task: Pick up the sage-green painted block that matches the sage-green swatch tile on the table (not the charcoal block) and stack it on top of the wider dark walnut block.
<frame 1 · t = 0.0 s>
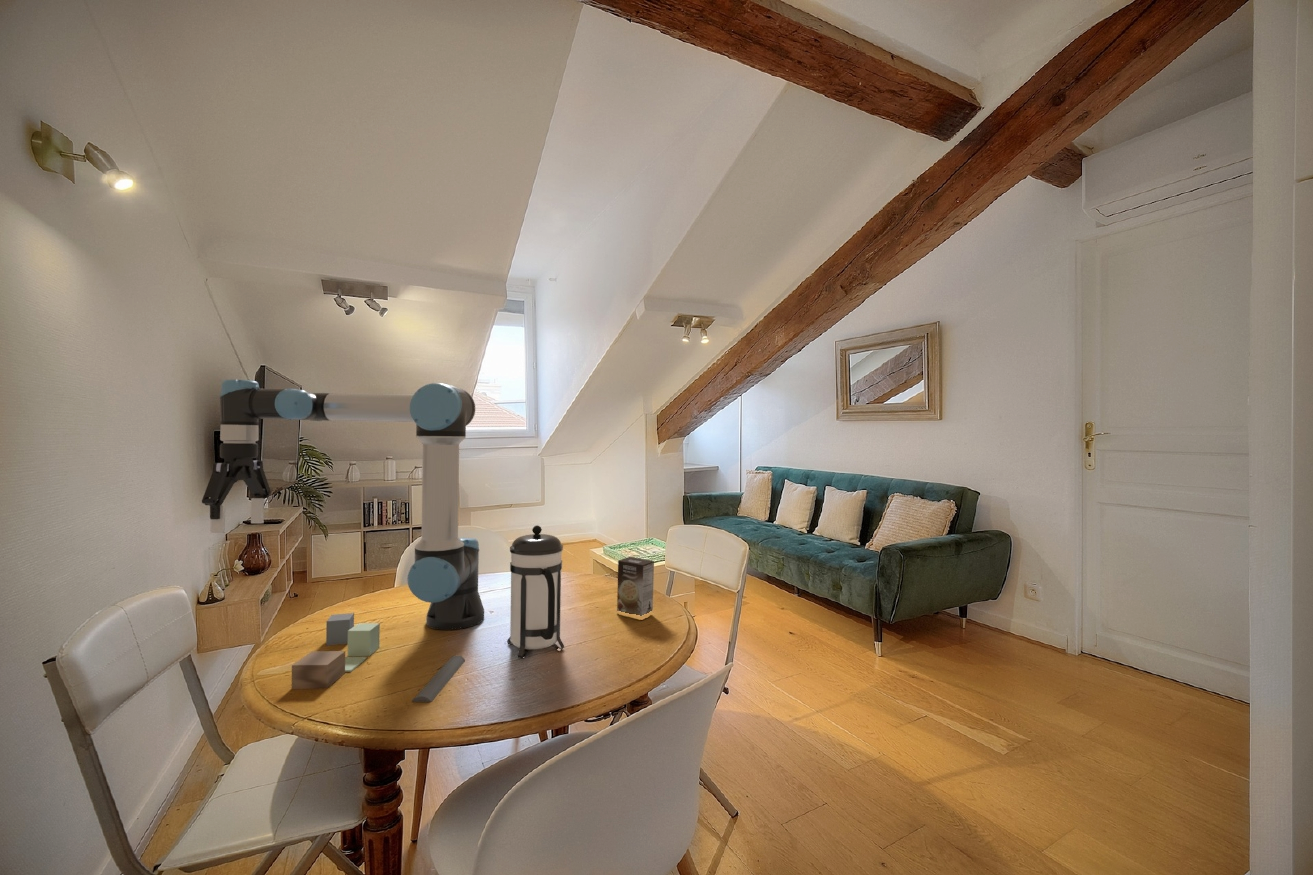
hand: (238, 527, 133), 28 cm above the table, tool pointing down, fingers open, 13 cm apart
walnut base: (319, 681, 113), on the table
coffee box: (634, 616, 157), on the table
charcoal block: (340, 641, 134), on the table
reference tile: (342, 665, 120), on the table
sage block: (363, 652, 128), on the table
dark grey piece: (440, 683, 114), on the table
coffee press: (538, 649, 131), on the table
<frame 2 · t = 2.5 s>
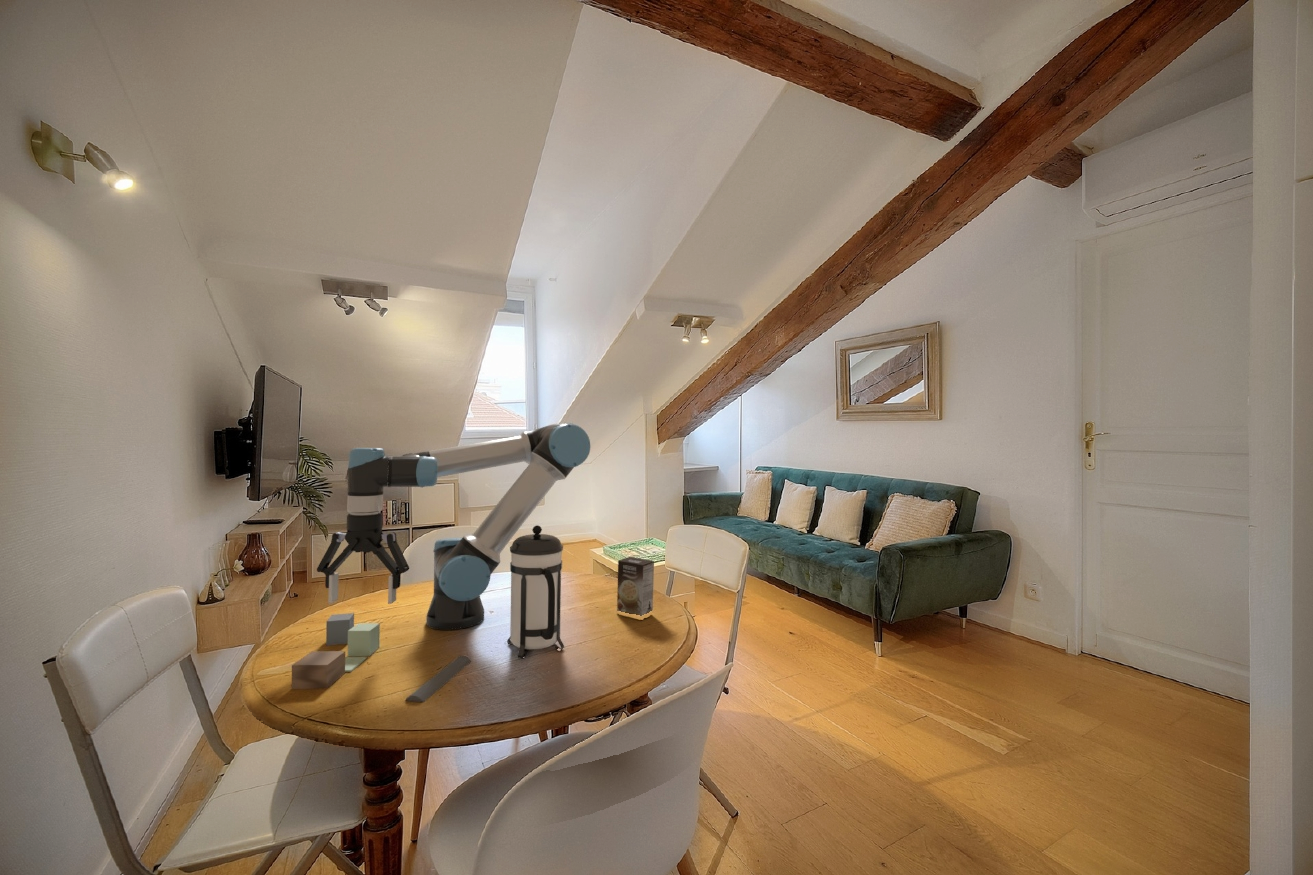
hand: (362, 602, 128), 12 cm above the table, tool pointing down, fingers open, 13 cm apart
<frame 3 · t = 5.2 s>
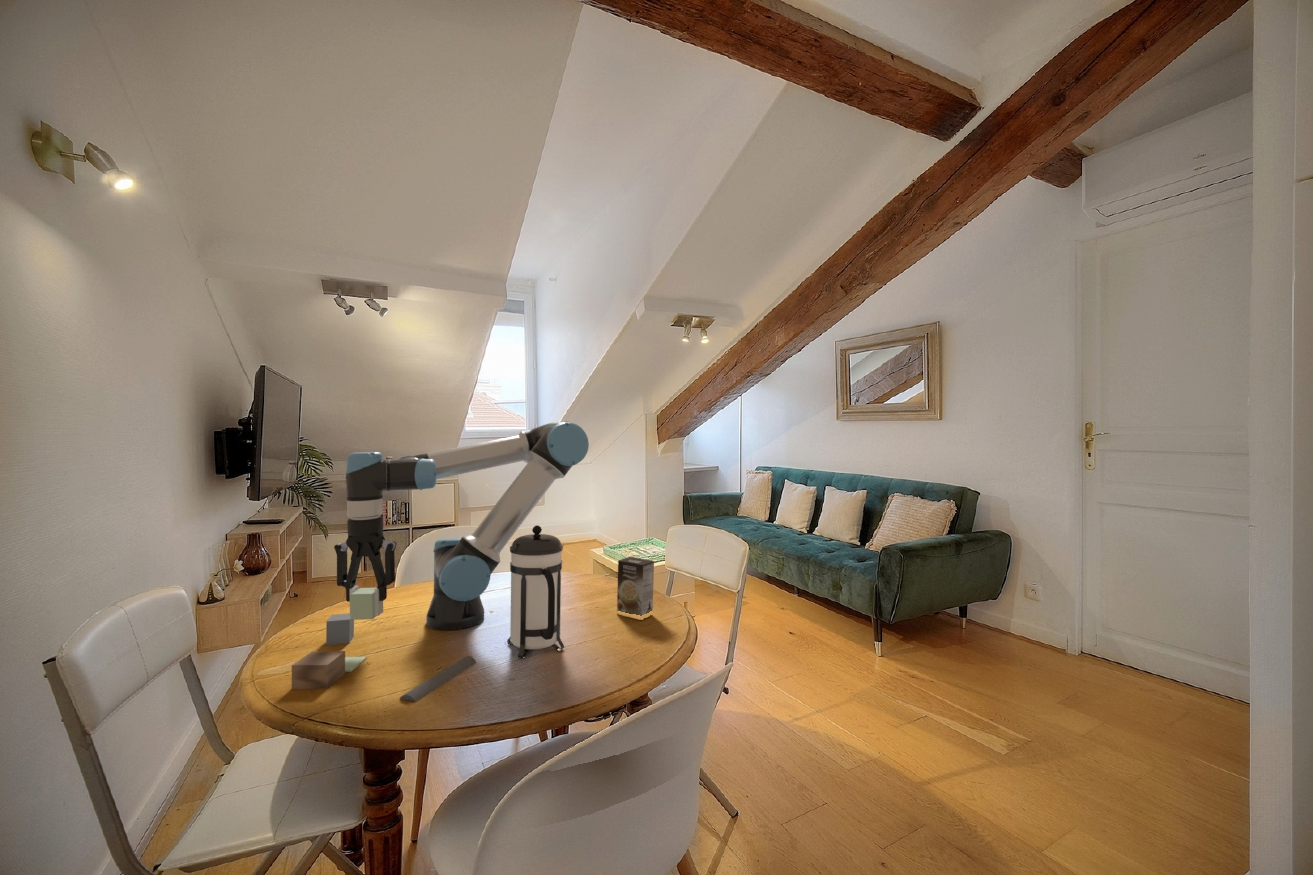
hand: (366, 614, 128), 9 cm above the table, tool pointing down, fingers closed on sage block, 5 cm apart
sage block: (366, 615, 128), point 9 cm above the table, touching gripper
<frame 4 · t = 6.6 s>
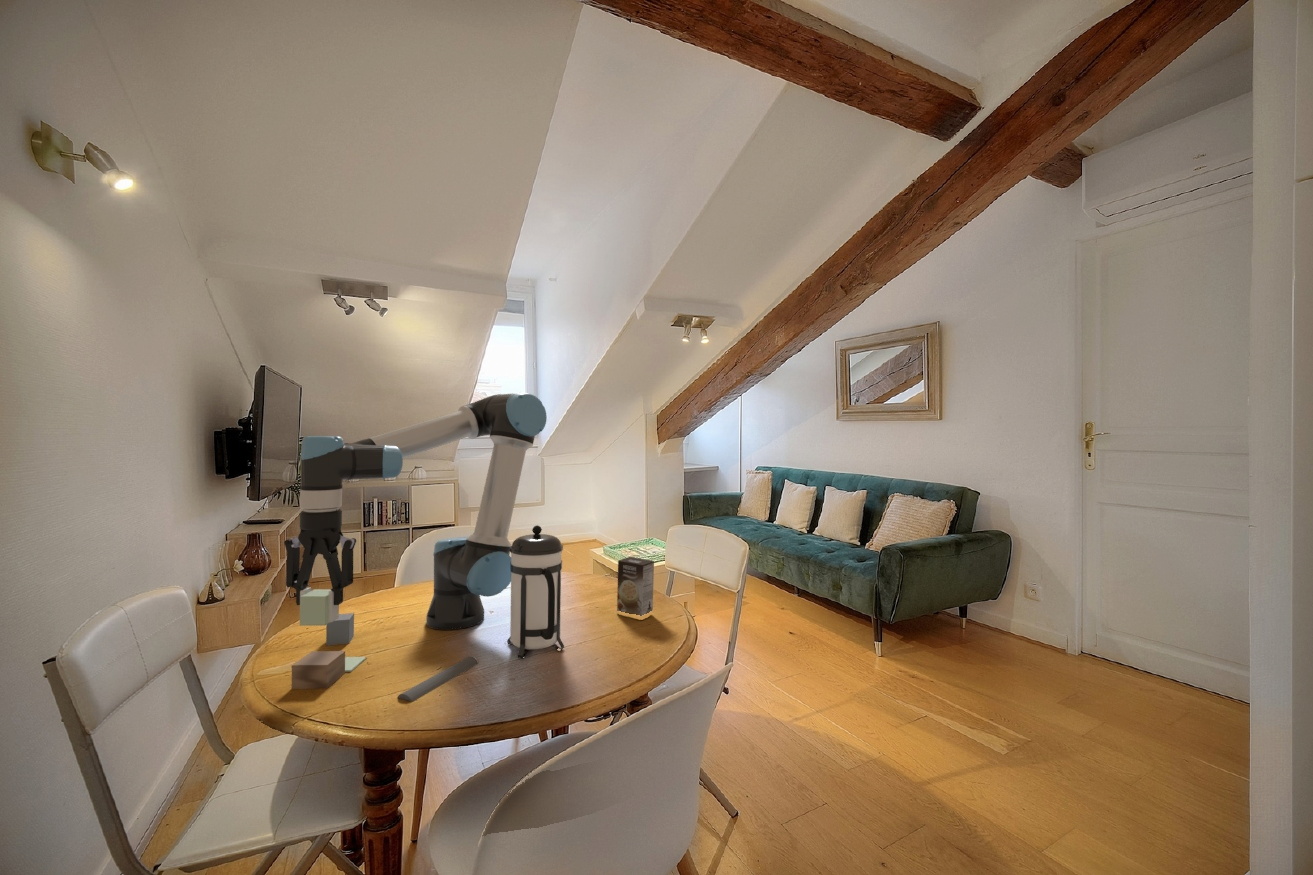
hand: (319, 619, 113), 13 cm above the table, tool pointing down, fingers closed on sage block, 5 cm apart
sage block: (319, 621, 113), point 12 cm above the table, touching gripper
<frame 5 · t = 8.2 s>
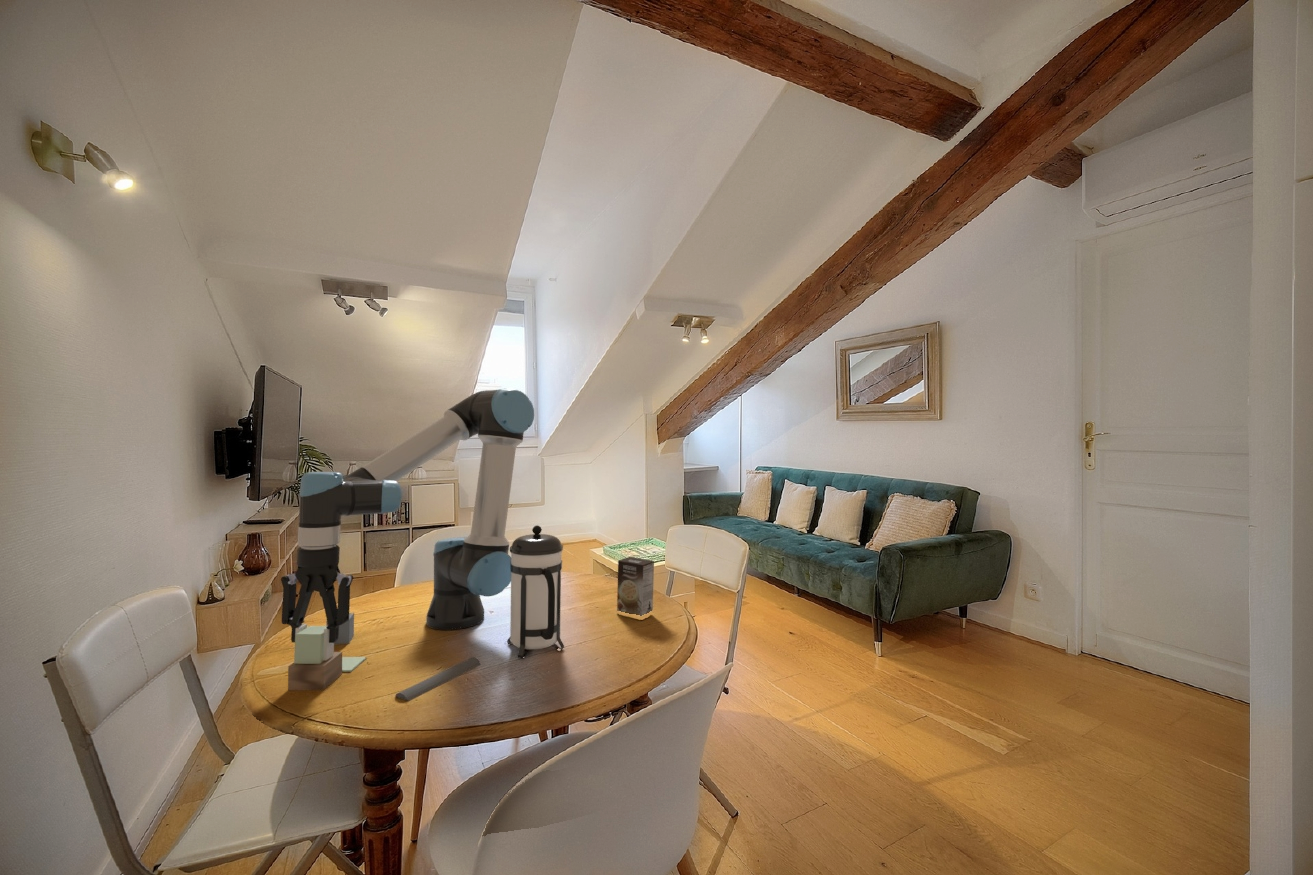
hand: (314, 657, 112), 5 cm above the table, tool pointing down, fingers closed on sage block, 5 cm apart
walnut base: (315, 682, 112), on the table, touching gripper, sage block
sage block: (313, 658, 112), point 5 cm above the table, touching gripper, walnut base
when the fingers open (5 cm above the table, at t = 8.4 s): sage block stays where it is, resting on walnut base.
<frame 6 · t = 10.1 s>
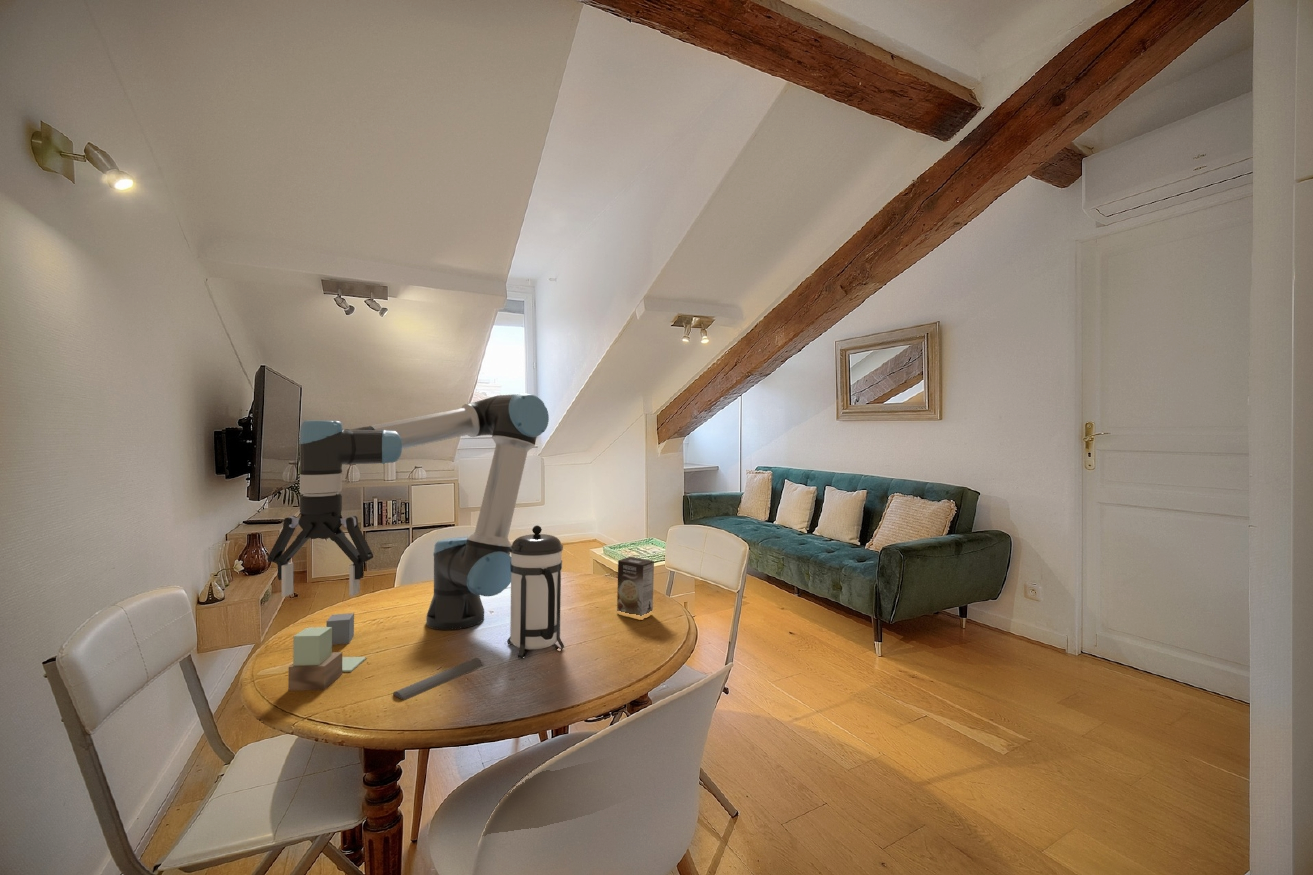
hand: (321, 595, 113), 18 cm above the table, tool pointing down, fingers open, 13 cm apart
walnut base: (316, 683, 112), on the table, touching sage block
sage block: (312, 660, 112), point 5 cm above the table, touching walnut base
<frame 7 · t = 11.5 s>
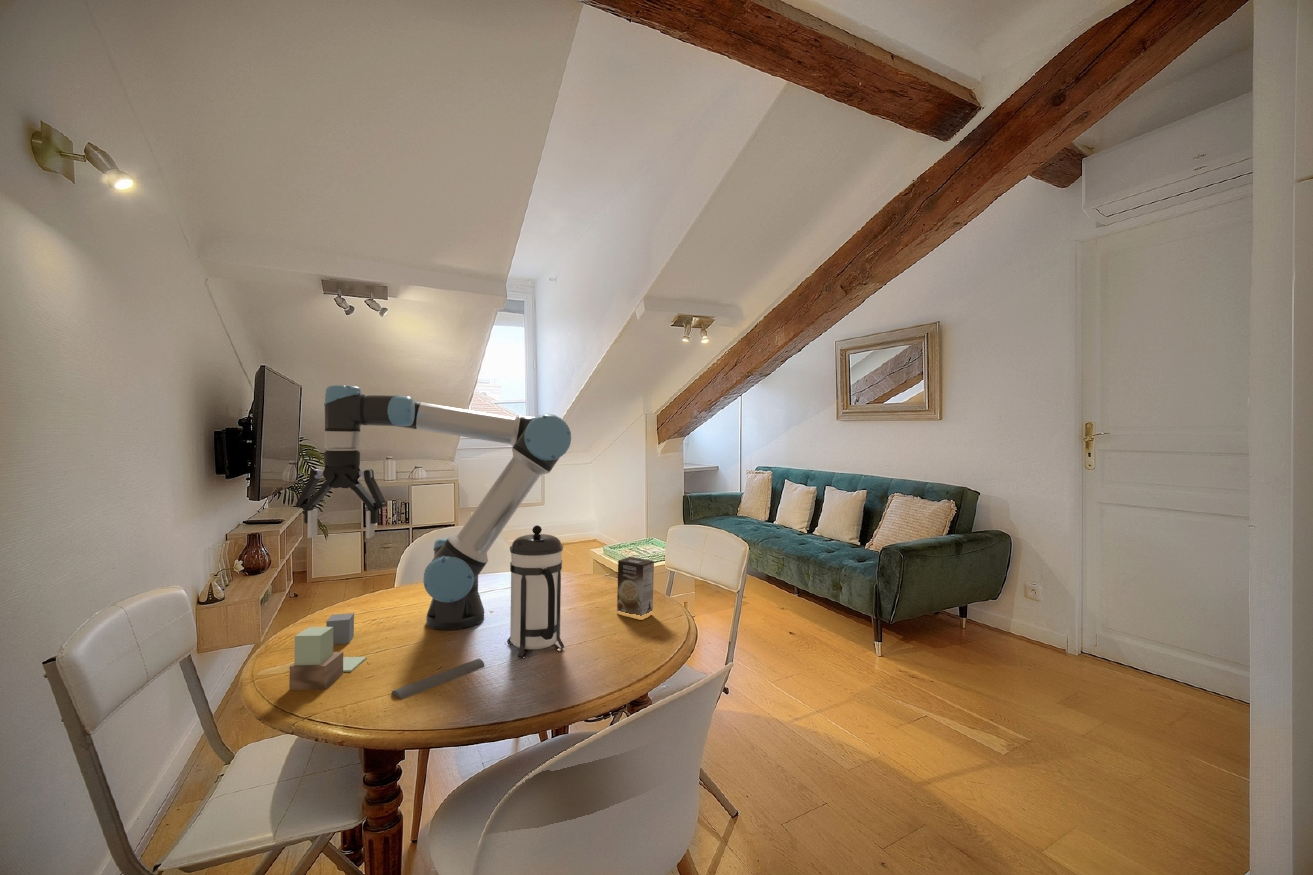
hand: (341, 537, 130), 27 cm above the table, tool pointing down, fingers open, 13 cm apart
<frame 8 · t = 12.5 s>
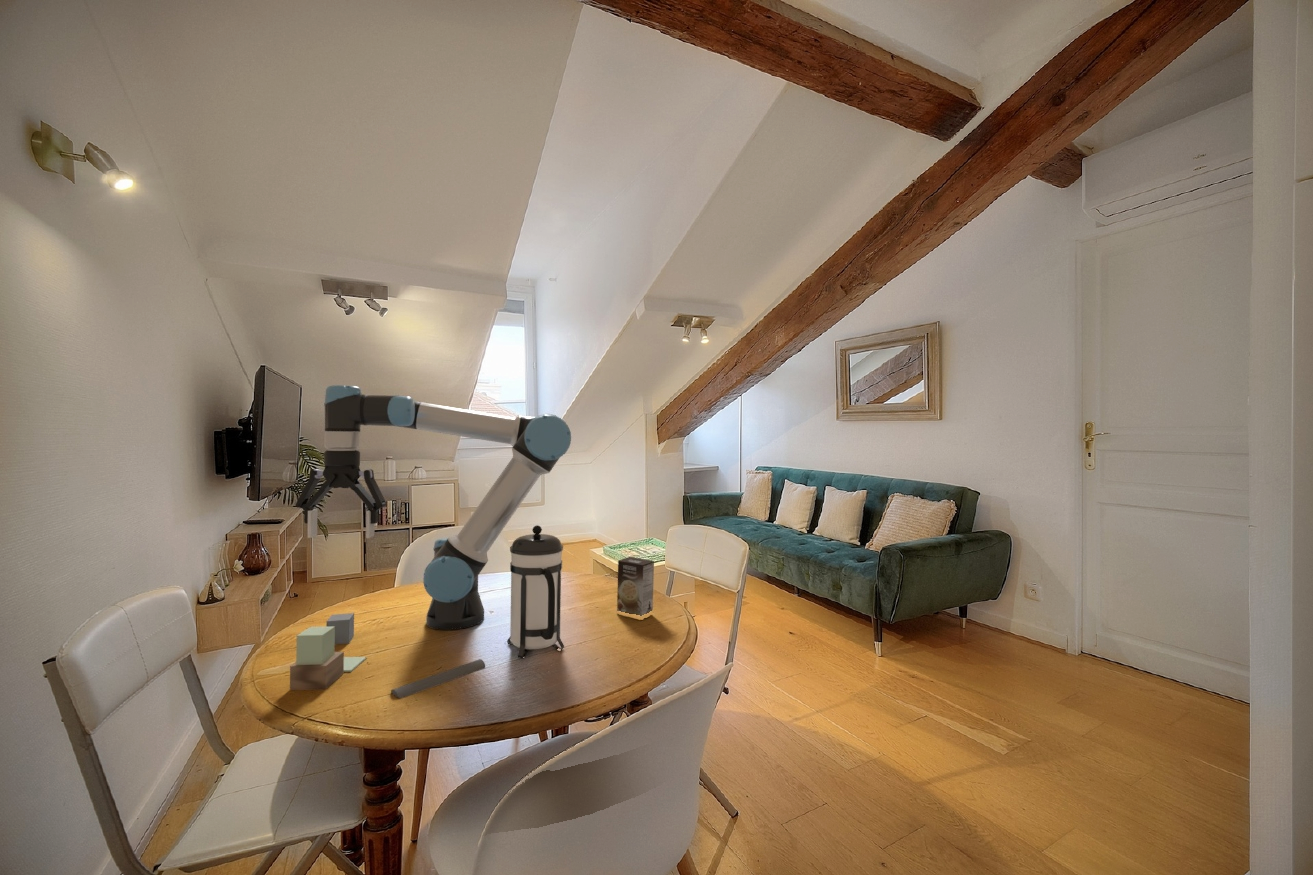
hand: (341, 537, 130), 27 cm above the table, tool pointing down, fingers open, 13 cm apart
at the end: sage block 0.4 cm off-centre on the walnut base, point 5.0 cm above the walnut base's base; sage block tilted 0°; the gripper is holding nothing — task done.
